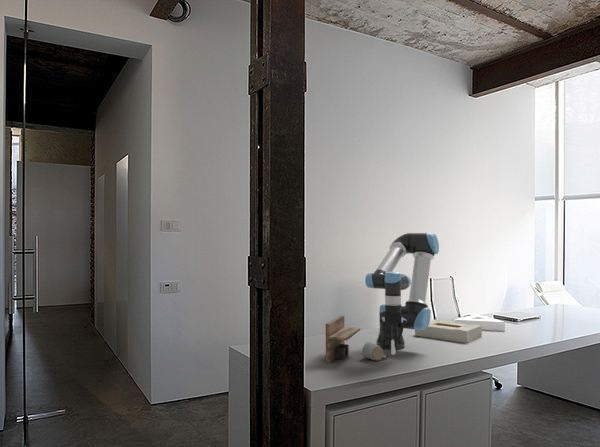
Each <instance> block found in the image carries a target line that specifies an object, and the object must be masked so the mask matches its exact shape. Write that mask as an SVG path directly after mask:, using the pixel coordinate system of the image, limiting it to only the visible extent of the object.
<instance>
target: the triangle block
mask: <svg viewBox="0 0 600 447" xmlns="http://www.w3.org/2000/svg"><path fill="white" fill-rule="evenodd" d="M453 320H454V323H462V324H474V325H480V326H481V327H482V331H493V332H494V331H497V332H505V331H506V321H502V320H499V319H496V318H493V317H489V316H485V315H481V314H477V313H476V314H473V315H467V316H464V317H460V318H456V319H453Z"/></svg>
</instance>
